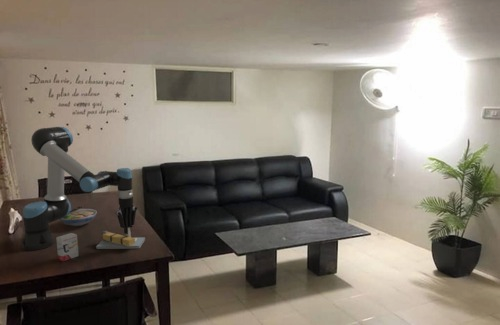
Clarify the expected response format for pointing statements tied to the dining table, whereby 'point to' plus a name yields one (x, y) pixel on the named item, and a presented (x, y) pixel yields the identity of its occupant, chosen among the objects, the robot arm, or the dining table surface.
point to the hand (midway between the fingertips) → (128, 238)
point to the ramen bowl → (79, 216)
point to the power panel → (113, 245)
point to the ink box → (67, 247)
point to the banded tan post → (117, 238)
